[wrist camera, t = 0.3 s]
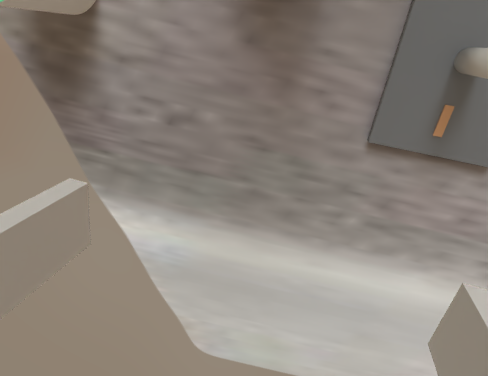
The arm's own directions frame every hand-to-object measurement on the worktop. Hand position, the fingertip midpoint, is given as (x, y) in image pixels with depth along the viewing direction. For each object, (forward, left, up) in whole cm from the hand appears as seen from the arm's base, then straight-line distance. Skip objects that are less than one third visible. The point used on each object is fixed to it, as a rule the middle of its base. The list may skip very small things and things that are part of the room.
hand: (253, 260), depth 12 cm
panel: (-8, +13, -27) cm, 31 cm away
